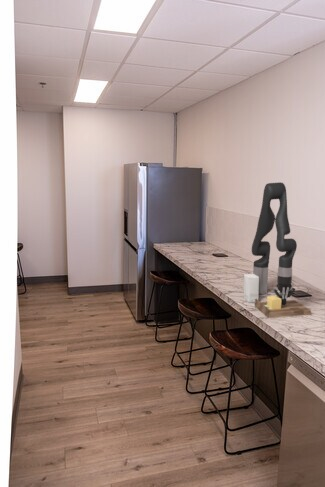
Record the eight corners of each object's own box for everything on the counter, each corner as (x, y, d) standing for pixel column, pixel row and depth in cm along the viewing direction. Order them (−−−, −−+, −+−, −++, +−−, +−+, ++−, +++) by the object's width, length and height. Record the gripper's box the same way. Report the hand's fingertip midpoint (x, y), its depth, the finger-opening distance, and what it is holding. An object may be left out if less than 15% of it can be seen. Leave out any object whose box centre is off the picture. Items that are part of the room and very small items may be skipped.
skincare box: (258, 302, 223) (259, 277, 220) (247, 302, 222) (249, 277, 219) (252, 297, 231) (254, 273, 228) (242, 298, 230) (243, 273, 227)
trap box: (254, 306, 216) (255, 298, 215) (294, 304, 220) (295, 296, 219) (267, 317, 200) (268, 309, 199) (310, 314, 204) (311, 306, 203)
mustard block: (266, 305, 210) (267, 296, 209) (275, 305, 211) (276, 295, 210) (271, 309, 205) (272, 299, 204) (280, 308, 206) (281, 299, 205)
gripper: (292, 272, 211) (290, 301, 214) (270, 273, 209) (268, 303, 212) (299, 275, 204) (297, 306, 207) (276, 277, 201) (275, 307, 204)
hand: (283, 304), depth 209 cm, fingers closed
